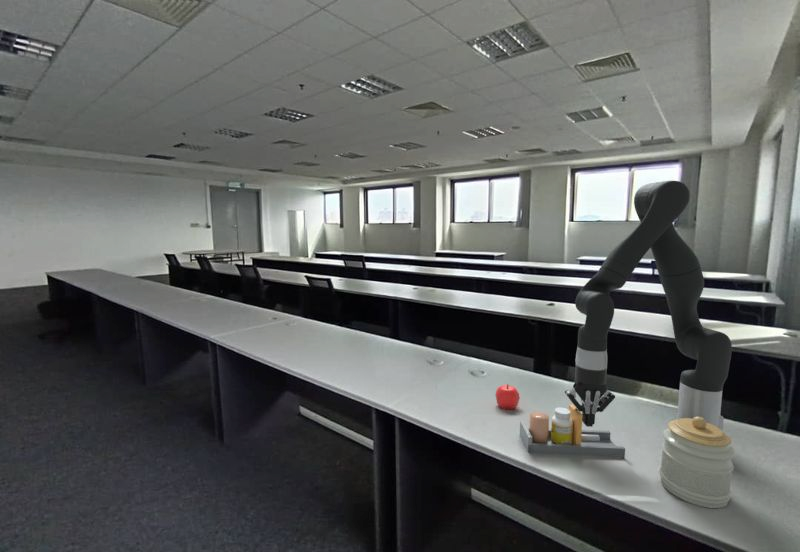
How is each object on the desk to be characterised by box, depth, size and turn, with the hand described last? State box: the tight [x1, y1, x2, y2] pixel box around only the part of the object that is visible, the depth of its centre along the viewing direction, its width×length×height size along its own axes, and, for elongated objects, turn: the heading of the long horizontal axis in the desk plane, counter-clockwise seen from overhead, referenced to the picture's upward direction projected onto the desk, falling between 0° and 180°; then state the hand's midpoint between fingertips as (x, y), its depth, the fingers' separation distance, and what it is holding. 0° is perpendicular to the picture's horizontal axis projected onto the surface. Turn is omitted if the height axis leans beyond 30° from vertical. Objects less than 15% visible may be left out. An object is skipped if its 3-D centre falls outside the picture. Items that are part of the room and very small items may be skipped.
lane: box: [519, 420, 626, 460], centre depth 105 cm, size 25×9×5 cm, turn 86°
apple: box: [495, 383, 520, 411], centre depth 129 cm, size 8×8×8 cm
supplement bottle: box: [550, 407, 573, 445], centre depth 105 cm, size 5×5×10 cm
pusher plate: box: [568, 403, 600, 445], centre depth 104 cm, size 7×6×10 cm
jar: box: [659, 417, 736, 509], centre depth 87 cm, size 13×13×18 cm
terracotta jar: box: [528, 411, 550, 444], centre depth 105 cm, size 5×5×8 cm
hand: (588, 425), depth 104 cm, fingers closed
